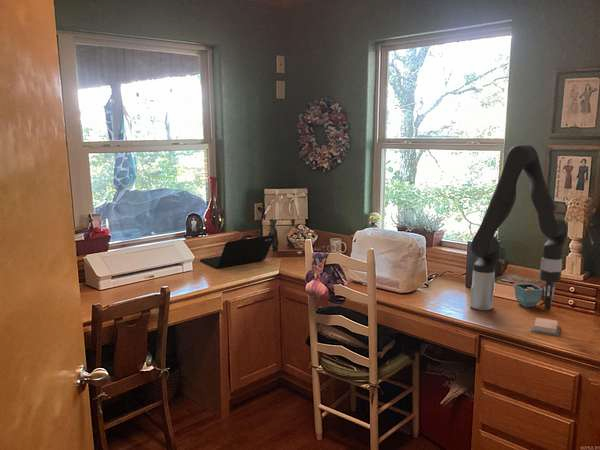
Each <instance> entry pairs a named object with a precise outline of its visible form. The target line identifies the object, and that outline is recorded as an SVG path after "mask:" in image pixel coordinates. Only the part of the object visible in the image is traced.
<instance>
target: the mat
mask: <svg viewBox="0 0 600 450" xmlns="http://www.w3.org/2000/svg"><path fill="white" fill-rule="evenodd" d="M534 324H535V321H534V322H532V323H531V328H530V332H533V333H539V334H546V335H551V336H557V337H559V336H560V329H561V326H559V325H557V332H556V334H553V333H547V332H541V331H535V330H534Z"/></svg>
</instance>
